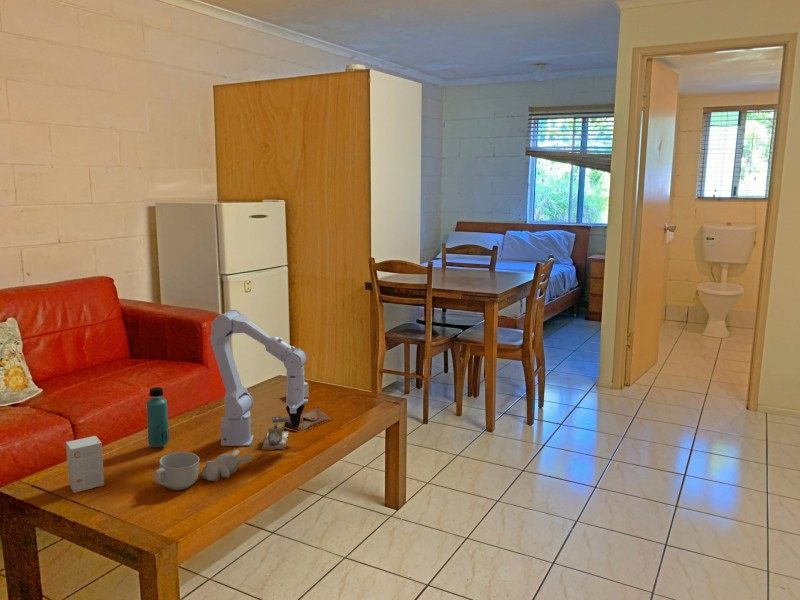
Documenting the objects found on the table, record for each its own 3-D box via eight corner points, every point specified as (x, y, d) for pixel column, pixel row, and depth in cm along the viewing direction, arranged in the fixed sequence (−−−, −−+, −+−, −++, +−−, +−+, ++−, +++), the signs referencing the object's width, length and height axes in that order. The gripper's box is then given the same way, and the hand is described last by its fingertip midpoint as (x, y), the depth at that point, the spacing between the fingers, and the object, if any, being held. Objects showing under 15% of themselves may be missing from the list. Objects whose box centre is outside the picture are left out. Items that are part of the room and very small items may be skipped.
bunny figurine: (193, 464, 186) (233, 443, 198) (195, 480, 187) (234, 457, 199) (214, 473, 181) (254, 450, 192) (217, 489, 182) (256, 465, 194)
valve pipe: (280, 446, 208) (280, 431, 207) (266, 446, 208) (266, 431, 207) (284, 433, 219) (284, 418, 218) (271, 433, 219) (271, 418, 218)
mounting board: (284, 449, 207) (284, 446, 207) (262, 449, 207) (262, 446, 207) (288, 434, 220) (288, 431, 220) (268, 433, 220) (268, 431, 219)
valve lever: (271, 423, 211) (271, 418, 211) (272, 420, 213) (272, 415, 213) (302, 423, 212) (302, 418, 211) (303, 420, 214) (303, 415, 214)
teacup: (186, 472, 189) (185, 447, 188) (207, 484, 183) (207, 458, 181) (142, 489, 179) (141, 462, 177) (163, 502, 172) (162, 474, 170)
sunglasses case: (302, 434, 220) (294, 416, 221) (289, 439, 224) (281, 422, 225) (334, 418, 235) (327, 402, 236) (321, 424, 239) (314, 407, 240)
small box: (98, 477, 185) (96, 435, 183) (104, 485, 180) (102, 442, 178) (68, 484, 180) (65, 441, 178) (73, 493, 175) (70, 449, 173)
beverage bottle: (162, 452, 203) (160, 392, 199) (143, 450, 204) (140, 390, 200) (173, 444, 209) (171, 386, 205) (155, 442, 210) (152, 384, 206)
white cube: (302, 393, 262) (302, 379, 261) (308, 398, 257) (308, 383, 256) (288, 396, 259) (288, 381, 257) (294, 400, 254) (295, 386, 253)
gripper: (305, 394, 199) (305, 435, 201) (309, 380, 213) (309, 418, 215) (283, 394, 198) (283, 435, 201) (288, 379, 212) (288, 418, 215)
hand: (295, 426), depth 208 cm, fingers closed
